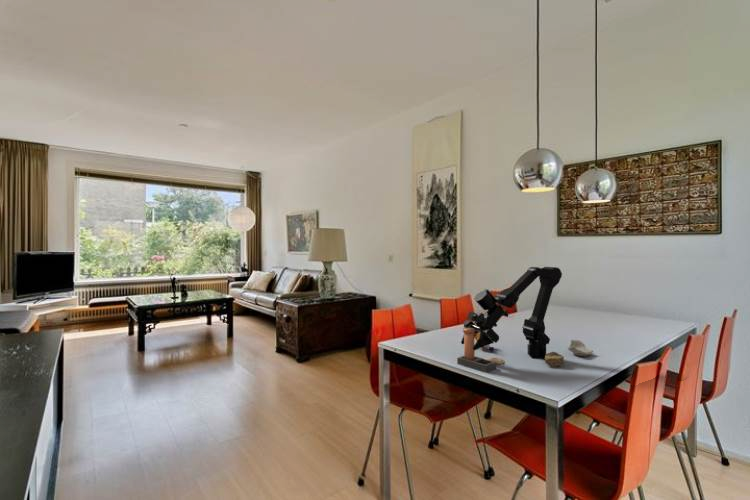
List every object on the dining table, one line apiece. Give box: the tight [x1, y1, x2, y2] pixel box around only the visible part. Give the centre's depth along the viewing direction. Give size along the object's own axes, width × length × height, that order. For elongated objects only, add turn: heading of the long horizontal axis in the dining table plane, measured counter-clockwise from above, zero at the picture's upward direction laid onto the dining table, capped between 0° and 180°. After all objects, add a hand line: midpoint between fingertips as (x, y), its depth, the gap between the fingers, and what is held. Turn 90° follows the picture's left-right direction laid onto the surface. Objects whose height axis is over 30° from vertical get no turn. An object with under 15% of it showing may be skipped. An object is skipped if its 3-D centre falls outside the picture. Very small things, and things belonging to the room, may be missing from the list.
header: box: [456, 355, 497, 373], centre depth 144 cm, size 7×13×2 cm, turn 39°
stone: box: [544, 351, 565, 368], centre depth 147 cm, size 14×7×5 cm, turn 165°
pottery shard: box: [566, 339, 594, 357], centre depth 158 cm, size 10×11×5 cm
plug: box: [462, 327, 476, 361], centre depth 146 cm, size 5×5×14 cm
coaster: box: [484, 357, 505, 366], centre depth 150 cm, size 8×8×1 cm
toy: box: [474, 332, 495, 353], centre depth 168 cm, size 12×7×14 cm
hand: (467, 346), depth 146 cm, fingers open, 9 cm apart
